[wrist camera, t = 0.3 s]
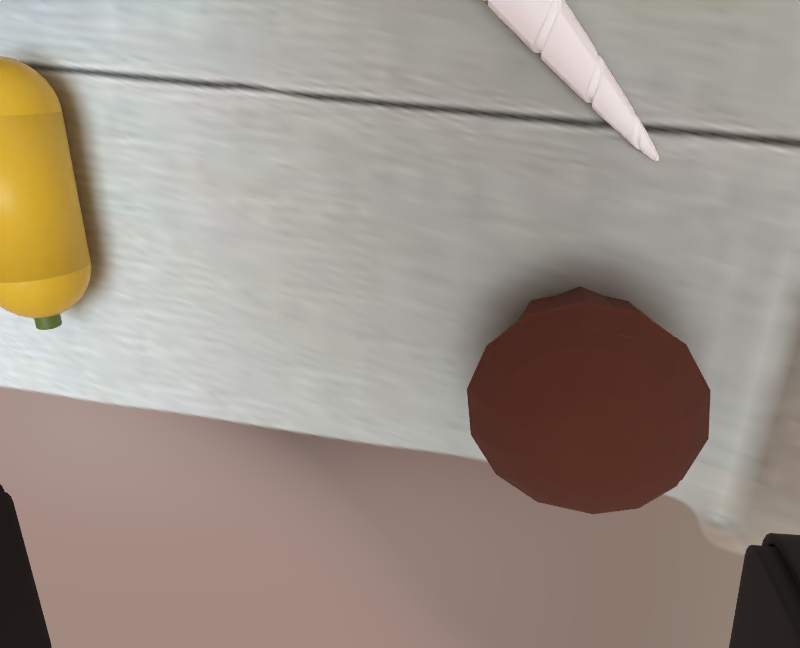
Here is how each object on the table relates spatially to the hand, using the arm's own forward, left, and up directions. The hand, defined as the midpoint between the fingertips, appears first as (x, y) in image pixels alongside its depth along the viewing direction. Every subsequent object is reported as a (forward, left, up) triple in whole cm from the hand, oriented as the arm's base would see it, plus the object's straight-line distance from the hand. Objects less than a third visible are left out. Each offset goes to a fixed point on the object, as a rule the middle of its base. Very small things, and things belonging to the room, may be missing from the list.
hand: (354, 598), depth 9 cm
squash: (0, -25, -31) cm, 40 cm away
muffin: (+10, +6, -31) cm, 33 cm away
